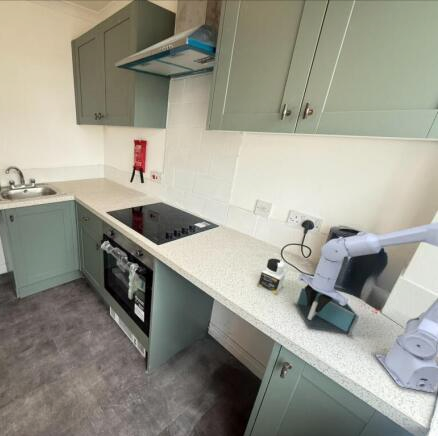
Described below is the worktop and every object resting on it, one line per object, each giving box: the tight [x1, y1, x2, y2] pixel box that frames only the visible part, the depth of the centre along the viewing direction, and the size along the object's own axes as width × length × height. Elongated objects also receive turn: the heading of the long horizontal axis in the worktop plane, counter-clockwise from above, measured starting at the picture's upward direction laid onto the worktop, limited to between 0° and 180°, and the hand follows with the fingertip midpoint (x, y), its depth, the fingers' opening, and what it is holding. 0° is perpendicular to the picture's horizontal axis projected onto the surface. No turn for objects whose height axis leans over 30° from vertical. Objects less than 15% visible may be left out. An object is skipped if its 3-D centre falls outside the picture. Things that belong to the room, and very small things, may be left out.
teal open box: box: [295, 287, 360, 337], centre depth 83 cm, size 12×12×8 cm
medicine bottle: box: [258, 258, 287, 294], centre depth 99 cm, size 7×7×12 cm
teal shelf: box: [308, 295, 355, 332], centre depth 80 cm, size 5×10×7 cm, turn 36°
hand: (313, 308), depth 83 cm, fingers closed
